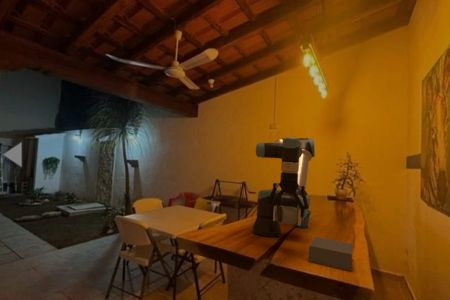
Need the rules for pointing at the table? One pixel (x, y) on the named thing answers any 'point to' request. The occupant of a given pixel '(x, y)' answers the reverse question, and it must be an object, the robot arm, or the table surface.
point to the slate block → (331, 253)
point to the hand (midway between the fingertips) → (286, 222)
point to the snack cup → (304, 221)
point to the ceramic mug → (287, 215)
